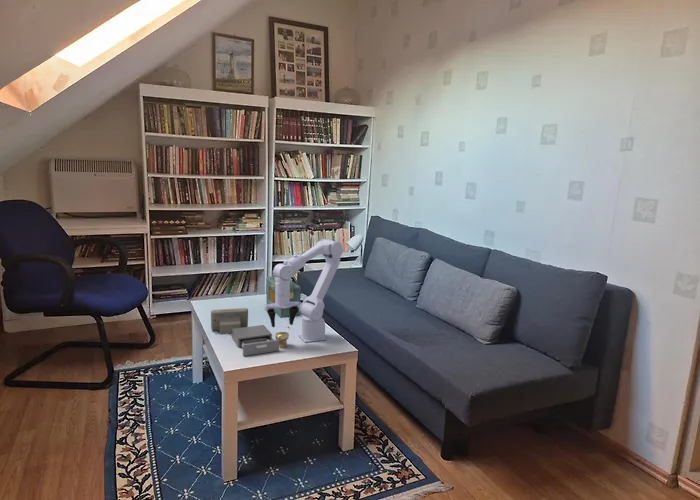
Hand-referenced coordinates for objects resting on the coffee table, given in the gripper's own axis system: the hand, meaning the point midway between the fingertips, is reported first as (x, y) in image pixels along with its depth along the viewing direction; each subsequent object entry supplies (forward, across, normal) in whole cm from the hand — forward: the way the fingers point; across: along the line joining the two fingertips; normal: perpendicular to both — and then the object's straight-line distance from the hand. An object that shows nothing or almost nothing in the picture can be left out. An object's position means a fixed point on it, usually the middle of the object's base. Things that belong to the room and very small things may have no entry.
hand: (282, 325), depth 193 cm
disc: (+5, 0, 0) cm, 5 cm away
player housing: (+9, -10, +10) cm, 17 cm away
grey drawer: (+9, -10, +1) cm, 13 cm away
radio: (+9, +16, +46) cm, 50 cm away
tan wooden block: (+9, 0, 0) cm, 9 cm away
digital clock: (+9, -16, +26) cm, 31 cm away
